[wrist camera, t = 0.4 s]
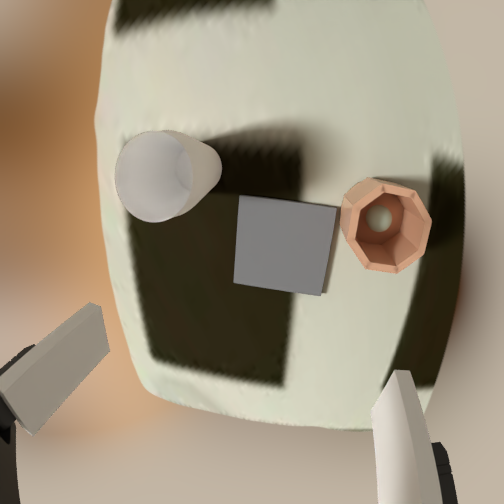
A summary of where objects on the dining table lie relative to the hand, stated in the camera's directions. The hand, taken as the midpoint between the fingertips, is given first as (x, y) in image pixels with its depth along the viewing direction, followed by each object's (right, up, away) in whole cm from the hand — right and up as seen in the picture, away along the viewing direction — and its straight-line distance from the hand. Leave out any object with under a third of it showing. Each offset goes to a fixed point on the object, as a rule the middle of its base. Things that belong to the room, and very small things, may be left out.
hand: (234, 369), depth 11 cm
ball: (+15, +9, +19) cm, 26 cm away
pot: (+16, +10, +22) cm, 29 cm away
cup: (-6, +16, +24) cm, 30 cm away
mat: (+5, +6, +26) cm, 27 cm away
